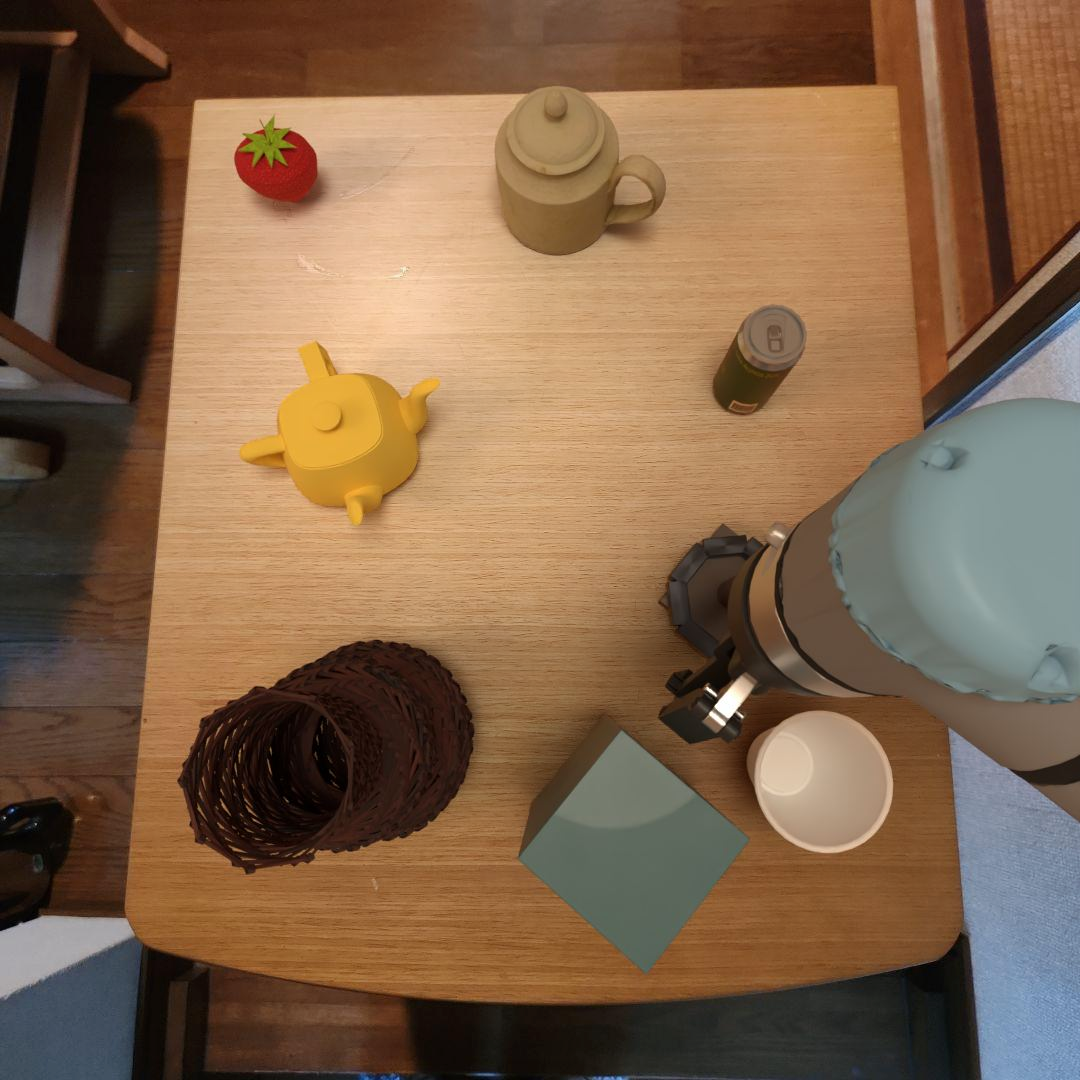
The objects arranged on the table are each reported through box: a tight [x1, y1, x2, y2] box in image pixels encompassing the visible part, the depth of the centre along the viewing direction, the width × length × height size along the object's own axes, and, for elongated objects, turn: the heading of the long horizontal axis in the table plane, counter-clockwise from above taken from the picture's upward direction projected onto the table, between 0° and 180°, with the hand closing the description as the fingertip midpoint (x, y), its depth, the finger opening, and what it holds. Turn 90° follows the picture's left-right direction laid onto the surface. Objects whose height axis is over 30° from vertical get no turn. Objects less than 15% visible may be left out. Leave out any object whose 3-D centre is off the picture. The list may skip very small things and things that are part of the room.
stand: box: [517, 713, 751, 975], centre depth 57 cm, size 10×10×20 cm
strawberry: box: [233, 114, 319, 203], centre depth 72 cm, size 6×8×10 cm
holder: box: [657, 523, 747, 642], centre depth 62 cm, size 9×9×14 cm
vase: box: [176, 639, 475, 875], centre depth 53 cm, size 15×15×30 cm
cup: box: [746, 710, 894, 854], centre depth 61 cm, size 10×10×11 cm
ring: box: [665, 534, 765, 661], centre depth 67 cm, size 11×11×2 cm
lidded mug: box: [494, 85, 667, 256], centre depth 69 cm, size 15×11×15 cm
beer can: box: [712, 303, 808, 415], centre depth 66 cm, size 5×5×12 cm
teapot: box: [238, 340, 441, 526], centre depth 68 cm, size 14×13×10 cm
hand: (721, 642), depth 55 cm, fingers open, 8 cm apart
